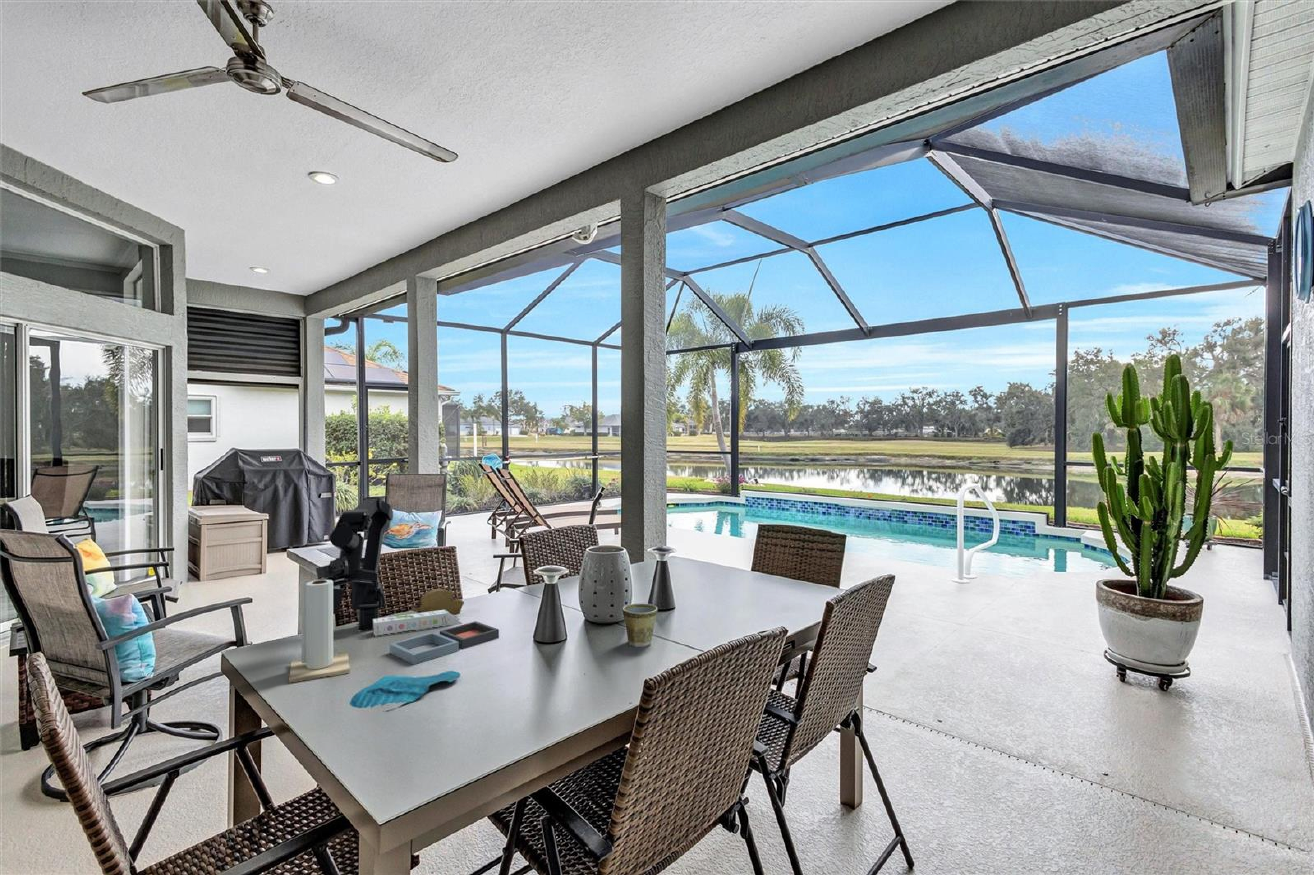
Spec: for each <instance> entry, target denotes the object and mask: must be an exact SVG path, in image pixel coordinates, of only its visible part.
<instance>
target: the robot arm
mask: <svg viewBox="0 0 1314 875" xmlns="http://www.w3.org/2000/svg"><path fill="white" fill-rule="evenodd" d="M393 518H394V511H393V509H392V506H391V504H390V503H388V502H386V501H384V500H383V498H382V497H380V496H365V497H363V499H362V502H361V503H360V504H358V505H357V507H356V508H354V509H350V510H348V509H347V510H345V511H343V512H342V514H341V515H340V516H339V518H338V521H337V522H336V524H335V527H334V529H333V531H332V532H331V534H329V541H330V543H331V544H332V545H333V546H334V547H336V548H337V549H338V550H339V557H337V558H335V559H333V560H330V562H329V564H326V565H323V566H319V567H316V568H315V571H316V576H317V580H332V581H333V615H336V614H337V613H338V611H339V609H340V606H341V603H342V601H343V598H344V596H345V593H346V591H347V589H345V588H346V587H347V584H349V586H350V588H351V589H352V590H351V592H350V604H351V610H352V611H357V610H358V612H357V613H358V617H357V618H358V620H357V621H358V623H356V630H362V631H367V630H366V629H369V630H373V619H378V618H380V612H379V611H380V610H379V609H382V608H385V607H386V605H387V604H386V595H385V593H384V591H383V587H382V586H383V585H382V584H381V581H380V580H379V568H380V559H381V553H382V546H383V540H384V539H383V538H384V534H385V533H386V531H388V530H389V528H390V527H391V523H392V521H393ZM365 532H367V535H366V537H367V538H366V544H365V551H364V557H363V550H364V543H365V538H364V536H363V535H362V533H365ZM362 564H363V565H362ZM361 568H362V569H361ZM357 625H358V626H357Z"/></svg>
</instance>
